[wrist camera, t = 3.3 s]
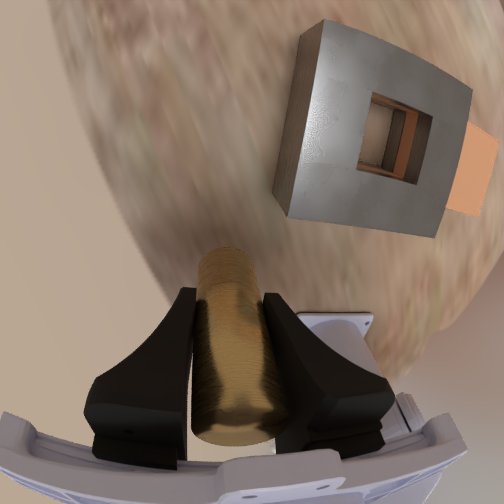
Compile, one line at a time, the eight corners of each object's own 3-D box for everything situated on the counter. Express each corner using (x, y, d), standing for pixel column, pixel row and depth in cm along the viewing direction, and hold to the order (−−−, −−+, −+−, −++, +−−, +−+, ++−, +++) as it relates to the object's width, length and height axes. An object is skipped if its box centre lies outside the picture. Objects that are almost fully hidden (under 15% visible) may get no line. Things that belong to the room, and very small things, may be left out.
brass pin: (249, 296, 17) (277, 444, 9) (196, 293, 16) (191, 445, 8) (258, 249, 15) (300, 402, 7) (199, 245, 15) (190, 402, 7)
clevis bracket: (402, 213, 21) (434, 238, 17) (272, 192, 19) (287, 217, 16) (432, 85, 16) (472, 89, 12) (300, 35, 14) (324, 18, 10)
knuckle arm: (457, 204, 22) (478, 217, 19) (304, 168, 19) (318, 179, 16) (476, 134, 18) (499, 141, 16) (323, 69, 16) (341, 65, 13)
